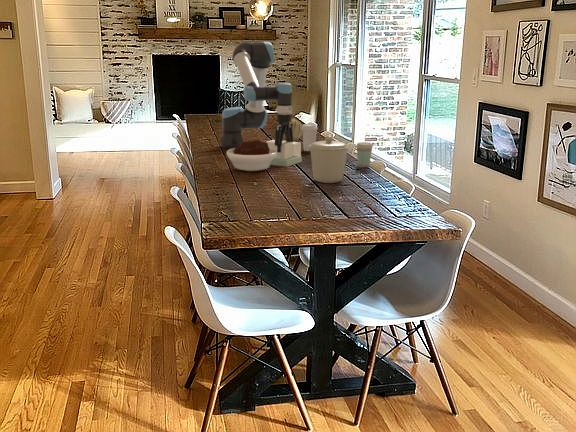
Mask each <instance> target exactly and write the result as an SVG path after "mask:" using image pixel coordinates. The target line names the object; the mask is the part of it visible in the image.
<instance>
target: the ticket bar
mask: <svg viewBox="0 0 576 432" xmlns="http://www.w3.org/2000/svg"><path fill="white" fill-rule="evenodd" d="M265 142H266V143H268V147H269V148H271V149H274V150H275V139H272V140H267V141H265ZM301 152H302V142H300V141H299V142H298V141H293V148H292V155H297V156H302V153H301Z"/></svg>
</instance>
